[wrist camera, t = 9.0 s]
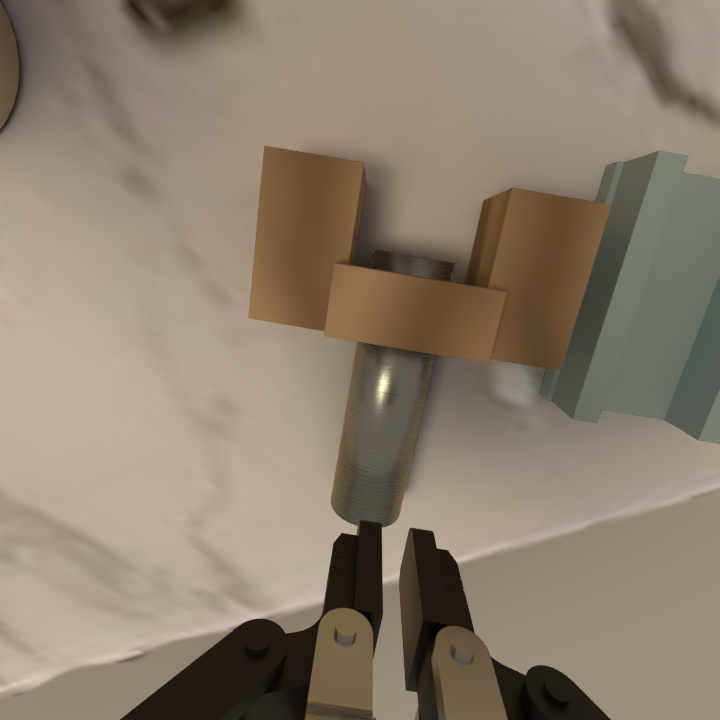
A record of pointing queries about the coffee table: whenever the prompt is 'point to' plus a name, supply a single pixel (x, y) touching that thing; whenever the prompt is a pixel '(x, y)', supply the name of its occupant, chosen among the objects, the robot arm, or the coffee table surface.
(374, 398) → the axle
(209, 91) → the coffee table surface
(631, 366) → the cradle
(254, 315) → the brown h-shaped block
